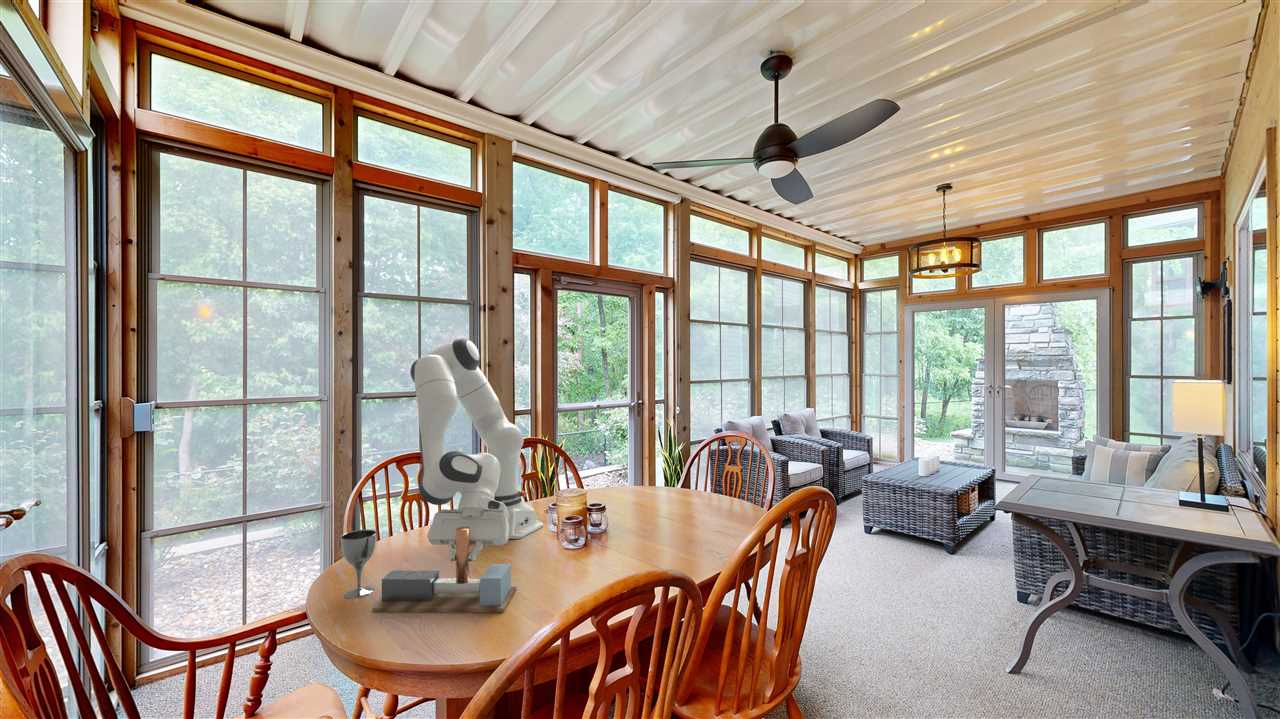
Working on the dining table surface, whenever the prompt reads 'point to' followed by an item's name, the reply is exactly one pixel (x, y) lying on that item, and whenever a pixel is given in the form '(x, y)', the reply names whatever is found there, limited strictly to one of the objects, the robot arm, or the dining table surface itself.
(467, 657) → the dining table surface
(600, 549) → the dining table surface
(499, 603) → the socket block
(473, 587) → the upright copper peg
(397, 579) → the graphite sleeve
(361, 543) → the wine glass
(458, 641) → the dining table surface
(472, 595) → the walnut board
